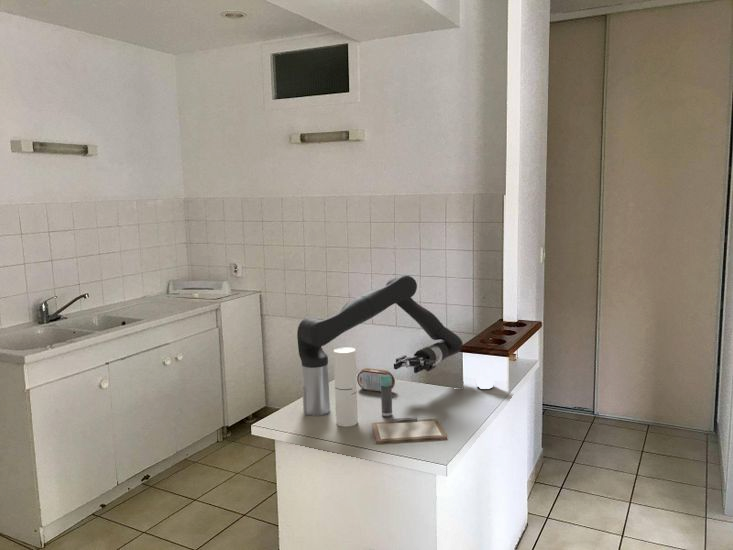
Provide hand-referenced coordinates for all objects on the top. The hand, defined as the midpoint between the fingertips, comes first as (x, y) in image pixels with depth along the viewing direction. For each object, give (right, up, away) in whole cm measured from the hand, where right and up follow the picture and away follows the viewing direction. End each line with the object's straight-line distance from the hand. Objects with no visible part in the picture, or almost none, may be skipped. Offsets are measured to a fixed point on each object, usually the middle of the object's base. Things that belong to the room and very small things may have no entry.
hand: (404, 368), depth 216 cm
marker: (-6, -15, -7) cm, 18 cm away
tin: (-10, -12, +19) cm, 24 cm away
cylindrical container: (-20, -16, -12) cm, 29 cm away
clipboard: (0, -17, -21) cm, 27 cm away
